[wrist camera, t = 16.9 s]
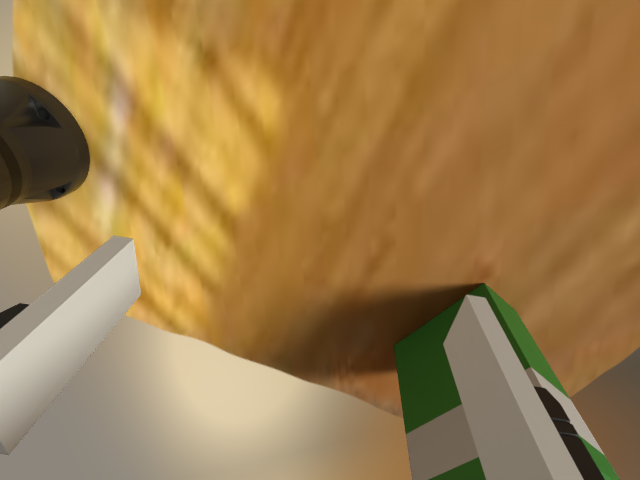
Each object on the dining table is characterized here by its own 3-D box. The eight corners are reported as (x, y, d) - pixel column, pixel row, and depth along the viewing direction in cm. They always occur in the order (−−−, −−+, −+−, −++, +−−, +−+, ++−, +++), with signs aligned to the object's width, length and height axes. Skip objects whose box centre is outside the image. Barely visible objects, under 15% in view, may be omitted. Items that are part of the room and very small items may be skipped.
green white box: (424, 368, 59) (463, 544, 38) (393, 345, 57) (417, 518, 36) (515, 310, 52) (626, 490, 31) (484, 282, 50) (578, 453, 29)
